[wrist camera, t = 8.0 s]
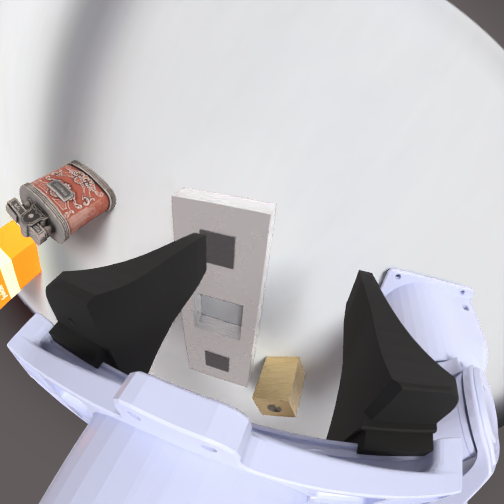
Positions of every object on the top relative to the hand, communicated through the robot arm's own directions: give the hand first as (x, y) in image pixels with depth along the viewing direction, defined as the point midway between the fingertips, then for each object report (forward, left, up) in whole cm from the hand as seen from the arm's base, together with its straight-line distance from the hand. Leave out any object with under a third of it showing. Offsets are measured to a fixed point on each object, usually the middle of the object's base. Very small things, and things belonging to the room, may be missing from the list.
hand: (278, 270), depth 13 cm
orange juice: (+46, +16, -10) cm, 50 cm away
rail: (+6, +13, -9) cm, 17 cm away
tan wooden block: (-2, +21, -10) cm, 23 cm away
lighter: (+22, +2, -10) cm, 24 cm away
